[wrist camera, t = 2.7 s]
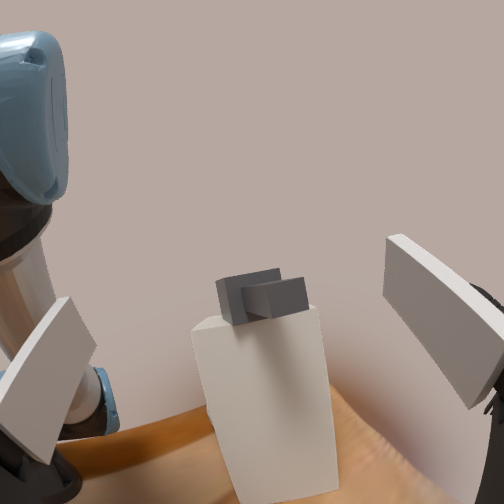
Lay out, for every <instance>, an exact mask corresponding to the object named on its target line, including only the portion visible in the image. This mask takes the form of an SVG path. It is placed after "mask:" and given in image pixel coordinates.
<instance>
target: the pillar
mask: <svg viewBox="0 0 504 504" xmlns="http://www.w3.org/2000/svg"><path fill="white" fill-rule="evenodd" d="M309 309H310V310H306V311H302V312H298V313H294V314H290V315H286V316H282V317H278V318H274V319H271V318H268V319H263V320H259V321H255V322H250V323H246V324H241V325H236V326H232V325H231V324H229V323H228V322H226V321H225V320H223V318H222V315H218V316H212V317H207V318H206V319H205V320H203V321H202V322H201V323H199V324H198V325H197V326H196V327H194V328H193V329H192V330H190V335H191V341H192V345H193V349H194V354H195V358H196V362H197V366H198V370H199V374H200V378H201V382H202V386H203V390H204V394H205V397H206V401H207V405H208V408H209V412H210V416H211V419H212V422H213V426H214V429H215V432H216V436H217V439H218V442H219V445H220V448H221V452H222V455H223V458H224V461H225V464H226V467H227V469H228V472H229V475H230V478H231V481H232V484H233V486H234V489H235V492H236V494H237V497H238V500H239V502H240V504H272V503H278V502H285V501H291V500H296V499H301V498H306V497H311V496H315V495H319V494H323V493H327V492H331V491H335V490H338V489H339V479H338V465H337V453H336V442H335V432H334V422H333V413H332V405H331V396H330V388H329V381H328V374H327V367H326V360H325V353H324V346H323V340H322V334H321V328H320V322H319V316H318V310H317V307H314V306H312V305H310V304H309Z"/></svg>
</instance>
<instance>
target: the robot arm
mask: <svg viewBox="0 0 504 504" xmlns="http://www.w3.org/2000/svg"><path fill="white" fill-rule="evenodd" d="M67 141H68V119H67V95H66V79H65V68H64V61H63V55H62V51H61V48H60V46H59V43H58V42H57V40H56V39H55V38H54V37H53V36H52V35H51V34H49V33H47V32H43V31H31V32H21V33H13V34H7V35H0V347H1V349H2V350H3V352H4V353H5V354H6V356H7V357H8V359H9V360H10V361H11V364H10V366H9V367H8V369H7V370H5V371H2V372H0V504H61V503H64V502H66V501H68V500H70V499H71V498H73V497H74V496H75V495H76V494H77V493H78V492H79V490H80V488H81V484H82V481H81V477H80V475H79V474H78V472H77V470H76V469H75V467H74V466H73V465H72V464H71V463H70V462H69V461H68V460H67V459H66V458H65V456H64V455H63V454H62V453H61V452H60V451H59V450H58V449H57V448H56V443H57V441H61V440H73V439H81V438H89V437H96V436H106V435H108V434H112V433H115V432H117V431H118V430H119V428H120V422H119V417H118V413H117V411H116V405H115V401H114V397H113V393H112V389H111V386H110V382H109V379H108V376H107V373H106V371H105V370H104V369H103V368H96V367H91V366H90V365H89V364H88V363H89V361H90V359H91V356H92V354H93V352H94V350H95V348H96V346H97V345H96V343H95V341H94V340H93V338H92V336H91V334H90V333H89V331H88V329H87V327H86V326H85V324H84V322H83V321H82V318H81V316H80V315H79V313H78V311H77V309H76V307H75V305H74V303H73V301H72V299H71V297H63V298H58V299H57V300H56V297H55V294H54V290H53V287H52V284H51V280H50V277H49V273H48V270H47V265H46V261H45V257H44V253H43V249H42V244H41V239H40V236H41V235H42V233H43V232H44V231H45V229H46V228H47V226H48V224H49V223H50V220H51V217H52V210H53V209H52V203H53V202H54V201H55V200H58V199H59V198H61V197H62V196H63V195H64V193H65V191H66V187H67V181H68V147H67V146H68V145H67ZM383 296H384V298H385V299H386V300H387V301H388V302H389V304H390V305H391V306H392V307H393V308H394V310H395V311H396V312H397V313H398V315H399V316H400V317H401V318H402V320H403V321H404V322H405V323H406V325H407V326H408V327H409V328H410V330H411V331H412V332H413V333H414V335H415V336H416V337H417V339H418V340H419V341H420V342H421V344H422V345H423V346H424V347H425V349H426V350H427V352H428V353H429V354H430V356H431V357H432V358H433V360H434V361H435V363H436V364H437V365H438V367H439V368H440V369H441V371H442V372H443V374H444V375H445V376H446V378H447V379H448V381H449V382H450V383H451V385H452V386H453V388H454V389H455V391H456V392H457V394H458V395H459V397H460V398H461V400H462V401H463V403H464V404H465V406H466V407H467V409H468V410H470V409H471V408H473V407H474V406H476V405H477V404H478V403H480V402H482V401H483V400H484V399H485V398H486V397H487V395H488V394H489V392H490V391H491V389H492V388H493V387H494V388H495V390H496V391H497V392H496V394H495V395H494V397H493V399H492V400H491V401H490V403H489V404H488V405H487V407H486V408H485V411H484V414H487V413H488V411H489V410H490V409H491V407H492V406H493V410H492V412H491V413H490V415H492V423H491V432H490V439H489V446H488V452H487V458H486V462H485V467H484V471H483V476H482V480H481V484H480V487H479V491H478V494H477V498H476V501H475V504H504V307H503V306H501V304H500V303H499V302H498V301H497V300H495V299H493V297H492V296H491V295H490V294H488V293H487V292H486V291H485V290H483V289H482V288H480V287H478V286H476V285H473V284H471V283H470V284H468V283H467V282H466V281H465V280H464V279H462V278H461V277H460V276H459V275H457V274H456V273H455V272H454V271H452V270H451V269H449V268H448V267H447V266H446V265H444V264H443V263H442V262H441V261H439V260H438V259H437V258H435V257H434V256H433V255H431V254H430V253H428V252H427V251H426V250H424V249H423V248H422V247H420V246H419V245H417V244H416V243H414V242H413V241H412V240H410V239H409V238H407V237H406V236H405V235H403V234H397V235H392V236H388V237H386V255H385V272H384V286H383Z"/></svg>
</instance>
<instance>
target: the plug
mask: <svg viewBox="0 0 504 504" xmlns="http://www.w3.org/2000/svg"><path fill="white" fill-rule="evenodd" d="M216 287H217V292H218V297H219V302H220V308H221V313H222V318H223V320H225V321H226V322H228V323H229V324H231V325H232V326H236V325H241V324H246V323H250V322H255V321H259V320H263V319H268V318H271V319H274V318H278V317H282V316H286V315H290V314H294V313H298V312H302V311H306V310H310V309H309V303H308V298H307V293H306V287H305V282H304V277H300V278H294V279H286V280H281V274H280V269H279V268H276V269H270V270H266V271H260V272H254V273H249V274H244V275H238V276H233V277H227V278H223V279H220V280H217V281H216Z"/></svg>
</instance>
